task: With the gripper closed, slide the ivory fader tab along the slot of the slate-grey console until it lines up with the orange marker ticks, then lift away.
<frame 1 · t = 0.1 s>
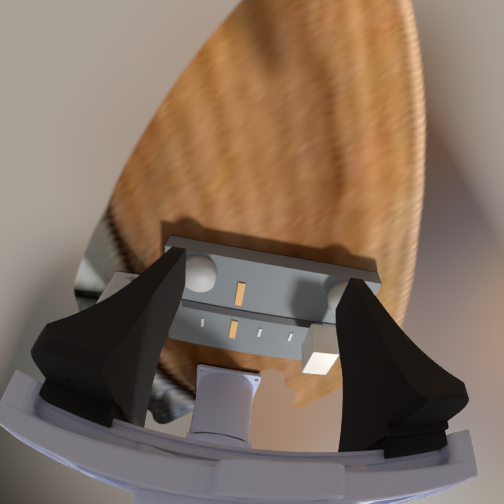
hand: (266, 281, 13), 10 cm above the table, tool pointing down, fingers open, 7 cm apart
fader tab: (318, 344, 25), point 4 cm above the table, slide at 0.0 cm
skincare box: (139, 293, 29), on the table
console: (264, 305, 28), on the table
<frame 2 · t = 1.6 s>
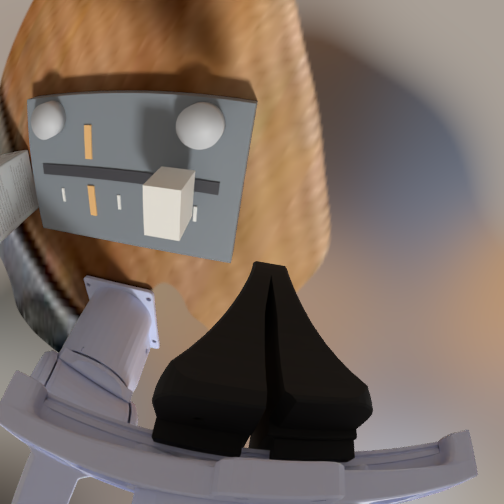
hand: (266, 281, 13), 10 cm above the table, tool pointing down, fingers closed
fader tab: (172, 197, 18), point 4 cm above the table, slide at 0.0 cm
skincare box: (23, 178, 22), on the table
console: (126, 167, 21), on the table
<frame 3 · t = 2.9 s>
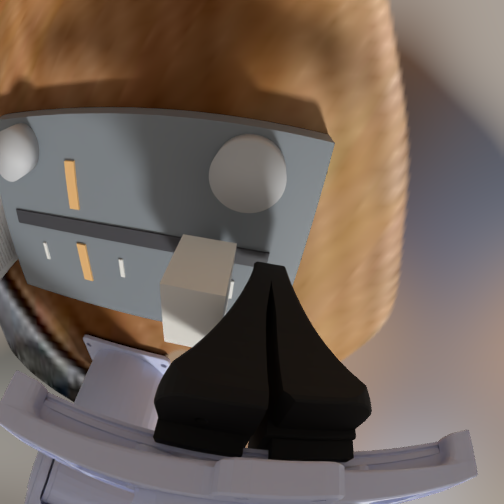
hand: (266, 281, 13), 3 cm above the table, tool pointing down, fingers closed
fader tab: (202, 283, 12), point 4 cm above the table, slide at 0.1 cm, touching gripper
console: (129, 218, 15), on the table
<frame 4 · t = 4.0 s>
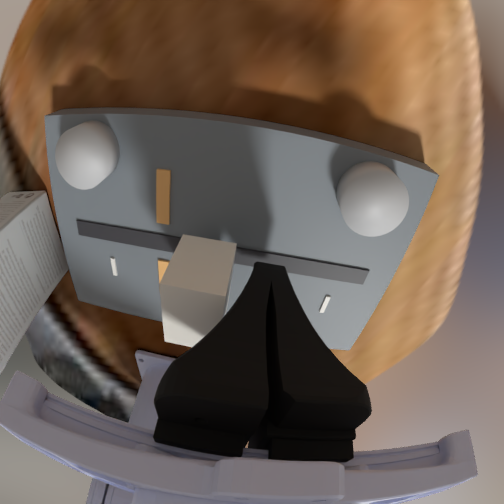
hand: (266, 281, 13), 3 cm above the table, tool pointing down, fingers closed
fader tab: (202, 283, 12), point 4 cm above the table, slide at 5.1 cm, touching gripper
skincare box: (40, 228, 16), on the table
console: (220, 233, 15), on the table
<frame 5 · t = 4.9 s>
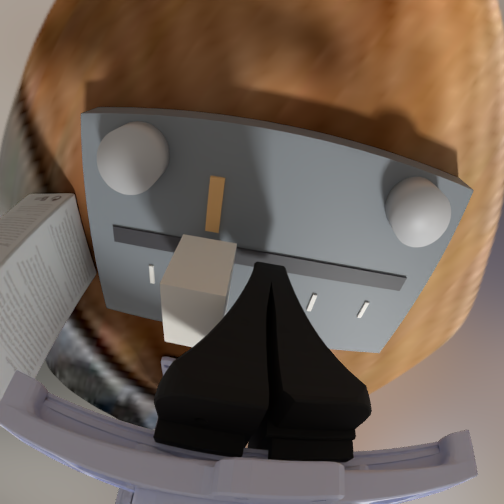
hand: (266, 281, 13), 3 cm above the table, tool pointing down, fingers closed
fader tab: (202, 283, 12), point 4 cm above the table, slide at 7.4 cm, touching gripper
skincare box: (64, 232, 16), on the table
console: (264, 241, 15), on the table
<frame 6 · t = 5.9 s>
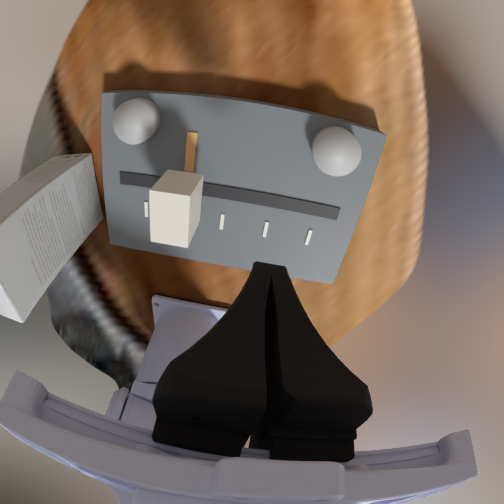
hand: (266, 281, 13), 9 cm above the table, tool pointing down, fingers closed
fader tab: (180, 202, 17), point 4 cm above the table, slide at 7.4 cm
skincare box: (80, 186, 21), on the table
console: (229, 183, 20), on the table
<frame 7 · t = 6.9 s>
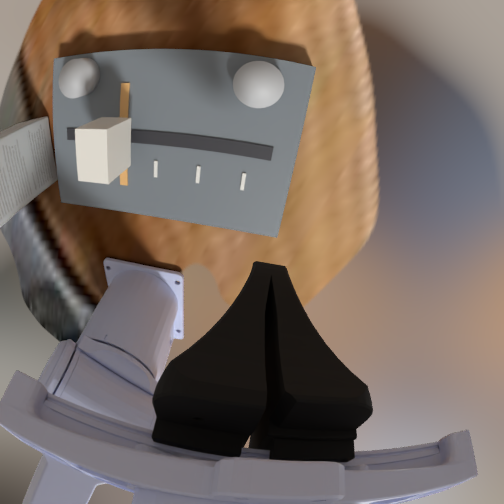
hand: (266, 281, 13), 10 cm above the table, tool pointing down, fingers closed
fader tab: (109, 145, 16), point 4 cm above the table, slide at 7.4 cm
skincare box: (39, 149, 20), on the table
console: (164, 132, 19), on the table
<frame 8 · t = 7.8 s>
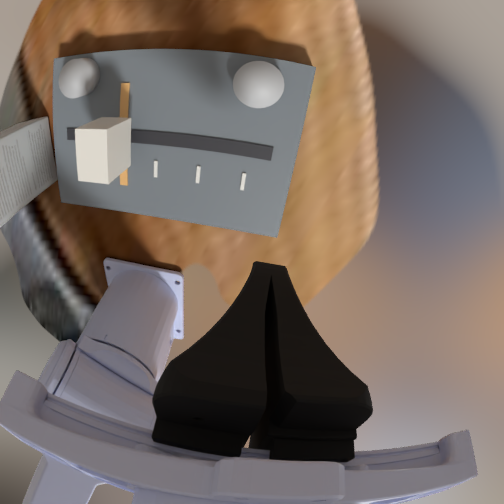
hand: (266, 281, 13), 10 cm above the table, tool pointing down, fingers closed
fader tab: (109, 145, 16), point 4 cm above the table, slide at 7.4 cm
skincare box: (39, 149, 20), on the table
console: (164, 132, 19), on the table
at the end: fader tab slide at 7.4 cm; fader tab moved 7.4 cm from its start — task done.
